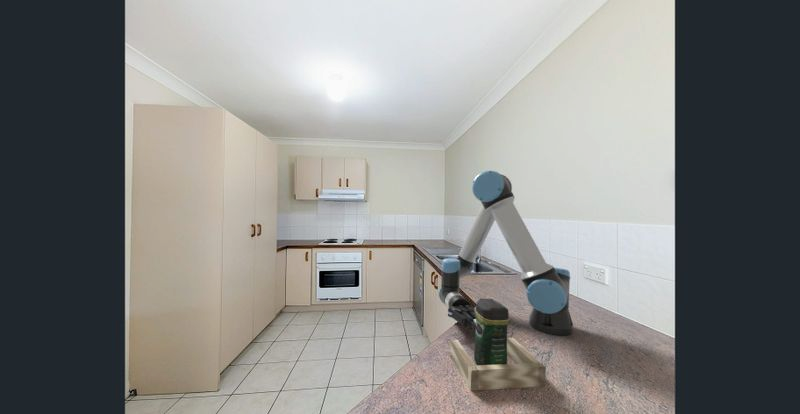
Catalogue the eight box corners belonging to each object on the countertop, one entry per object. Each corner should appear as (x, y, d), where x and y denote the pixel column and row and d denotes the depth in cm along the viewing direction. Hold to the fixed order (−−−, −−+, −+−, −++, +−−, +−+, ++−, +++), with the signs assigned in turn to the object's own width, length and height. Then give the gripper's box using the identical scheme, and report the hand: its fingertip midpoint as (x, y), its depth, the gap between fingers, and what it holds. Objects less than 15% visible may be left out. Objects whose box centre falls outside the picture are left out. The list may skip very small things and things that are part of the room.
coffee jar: (511, 375, 77) (514, 307, 77) (484, 377, 76) (486, 308, 76) (494, 356, 87) (496, 295, 87) (470, 357, 86) (472, 296, 86)
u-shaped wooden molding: (512, 353, 89) (512, 337, 89) (545, 386, 73) (545, 366, 73) (450, 356, 86) (450, 339, 86) (470, 390, 70) (471, 370, 70)
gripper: (473, 314, 111) (503, 343, 87) (441, 314, 109) (463, 345, 86) (474, 294, 111) (504, 319, 87) (441, 295, 109) (464, 320, 86)
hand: (484, 332), depth 87 cm, fingers closed
